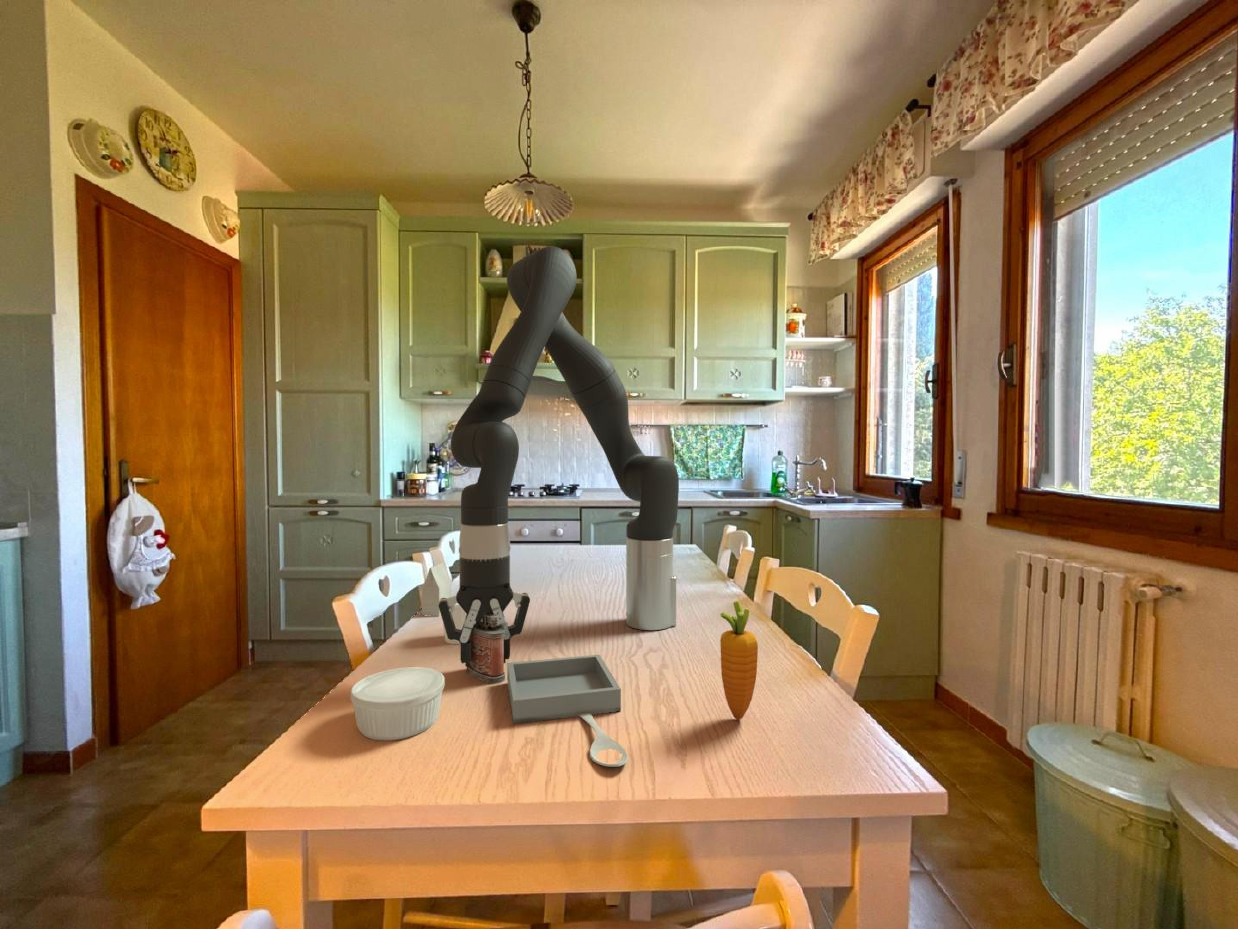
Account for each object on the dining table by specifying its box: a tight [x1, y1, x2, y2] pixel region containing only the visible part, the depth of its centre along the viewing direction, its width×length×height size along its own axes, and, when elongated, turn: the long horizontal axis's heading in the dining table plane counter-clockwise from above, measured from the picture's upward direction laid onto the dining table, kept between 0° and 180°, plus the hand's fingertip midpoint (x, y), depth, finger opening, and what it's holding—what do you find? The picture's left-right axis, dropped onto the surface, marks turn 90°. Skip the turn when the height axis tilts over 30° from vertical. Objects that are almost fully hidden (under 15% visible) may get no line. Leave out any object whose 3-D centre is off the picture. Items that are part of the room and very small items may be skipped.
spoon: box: [578, 713, 629, 767], centre depth 71 cm, size 4×21×2 cm, turn 18°
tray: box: [506, 654, 622, 725], centre depth 80 cm, size 14×13×3 cm
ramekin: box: [350, 666, 446, 742], centre depth 72 cm, size 11×11×5 cm
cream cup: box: [442, 603, 466, 645], centre depth 104 cm, size 7×7×7 cm
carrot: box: [719, 601, 759, 721], centre depth 73 cm, size 5×5×15 cm
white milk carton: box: [421, 561, 453, 617], centre depth 121 cm, size 4×7×10 cm, turn 175°
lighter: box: [466, 613, 506, 684], centre depth 87 cm, size 8×3×10 cm, turn 47°
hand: (485, 662), depth 87 cm, fingers closed on lighter, 4 cm apart
